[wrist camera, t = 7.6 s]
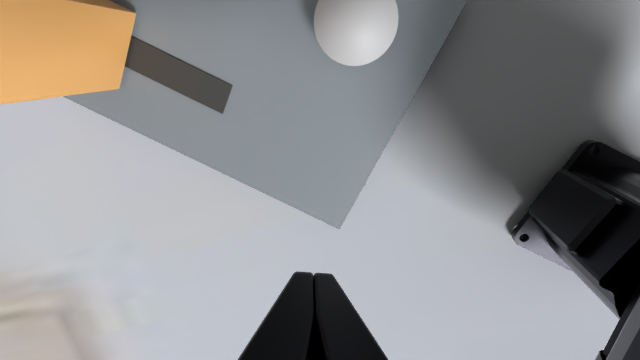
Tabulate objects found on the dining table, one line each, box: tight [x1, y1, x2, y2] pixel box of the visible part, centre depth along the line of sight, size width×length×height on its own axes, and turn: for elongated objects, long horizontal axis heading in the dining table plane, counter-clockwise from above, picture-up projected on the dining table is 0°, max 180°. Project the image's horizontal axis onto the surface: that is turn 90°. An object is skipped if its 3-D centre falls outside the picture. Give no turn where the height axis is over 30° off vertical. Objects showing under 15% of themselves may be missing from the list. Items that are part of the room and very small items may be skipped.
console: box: [63, 0, 467, 229], centre depth 17 cm, size 18×13×3 cm
